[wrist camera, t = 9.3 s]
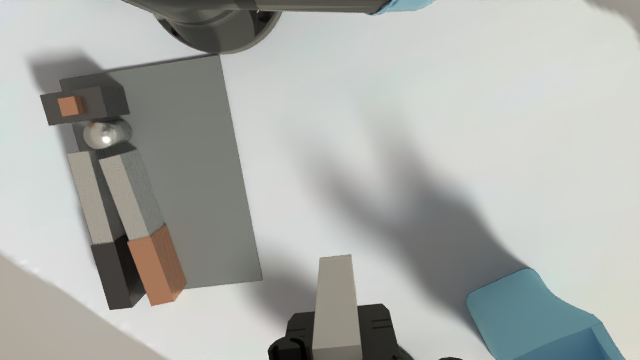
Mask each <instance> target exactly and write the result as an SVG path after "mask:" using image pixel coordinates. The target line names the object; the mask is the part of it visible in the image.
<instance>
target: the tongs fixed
mask: <svg viewBox="0 0 640 360" xmlns="http://www.w3.org/2000/svg"><path fill="white" fill-rule="evenodd" d="M40 97H41V101H42V104H43V107H44V111H45V114H46V117H47V121H48V124H49V126H50V125H58V124H66V123H74V122H81V121H88V120H95V119H101V118H108V117H115V116H122V115H129V114H130V111H129V107H128V103H127V99H126V95H125V91H124V87H122V86H97V87H90V88H84V89H77V90H71V91H64V92H58V93H51V94H45V95H40ZM110 156H112V155H111V152H110V148H109V147H106V148H102V149H94V148H91V149H86V150H82V151H78V152H74V153H69V154H67V157H68V161H69V164H70V168H71V171H72V174H73V178H74V181H75V184H76V188H77V191H78V195H79V198H80V201H81V205H82V208H83V212H84V215H85V218H86V222H87V225H88V229H89V232H90V235H91V239H92V242H93V245H91V249H92V252H93V255H94V259H95V262H96V266H97V269H98V272H99V276H100V279H101V282H102V286H103V289H104V293H105V296H106V299H107V303H108V306H109V309H110V310H114V309H123V308H132V307H133V306H134V305H135V304H136V303H137V302H138V301H139V300H140V299H141V298H142V297H143V296H144V295H145V294H146V290H145V288H144V285H143V283H142V280H141V277H140V275H139V272H138V270H137V267H136V264H135V262H134V259H133V257H132V254H131V251H130V249H129V246H128V244H127V242H128V241H129V239H128V236H127V233H126V231H125V228H124V225H123V223H122V220H121V218H120V215H119V212H118V210H117V207H116V204H115V202H114V199H113V197H112V194H111V191H110V189H109V186H108V183H107V181H106V178H105V176H104V173H103V170H102V168H101V165H100V163H99V160H100V159H104V158H107V157H110Z"/></svg>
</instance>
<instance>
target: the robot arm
mask: <svg viewBox="0 0 640 360" xmlns="http://www.w3.org/2000/svg"><path fill="white" fill-rule="evenodd" d="M122 1H124V2H127V3H129V4H132V5H134V6H136V7H139V8H141V9H144V10H146V11H149V12H151V13H153V14H154V16H155V17H156V19H157V20H158V22H159V23H160V24H161V25H162V26H163V28H164V29H165V30H166V31H167V32H168V33H170V34H171V35H172V36H173V37H174V38H176V39H177V40H179V41H180V42H182V43H183V44H185V45H187V46H189V47H191V48H194V49H197V50H200V51H203V52H207V53H212V54H233V53H238V52H241V51H244V50H246V49H249V48H251V47H253V46H254V45H256V44H257V43H259V42H260V41H261V40H263V39H264V38H265V37H266V36H267V35H268V34H269V33H270V32H271V30H272V29H273V28H274V26H275V25H276V23H277V22H278V20H279V18H280V16H281V14H282V11H295V12H346V13H365V14H368V15H376V14H378V15H380V14H383V13H385V12H400V11H416V10H419V9H421V8H424V7H426V6H428V5H430V4H431V3H433V2H434V1H435V0H122ZM286 331H287V332H286V335H285V337H282V338H280V339H278V340H276V341H275V342H274V343H273V344H272V345H270V347H269V349H268V355H269V360H404V359H403V358H402V357H401V355H400V352H399V348H398V344H397V340H396V336H395V332H394V328H393V324H392V320H391V316H390V312H389V310H388V309H387V308H386V307H385V306H384V305H383V304H372V305H363V306H358V303H357V295H356V288H355V280H354V272H353V264H352V257H351V254H349V255H341V256H332V257H323V258H320V261H319V273H318V285H317V297H316V309H315V311H314V312H305V313H295V314H294V315H293V316H292V317H291V319H290V320H289V321H288V325H287V330H286ZM439 360H462V359H460V358H453V357H447V358H441V359H439Z"/></svg>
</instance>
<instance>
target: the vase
mask: <svg viewBox="0 0 640 360" xmlns="http://www.w3.org/2000/svg"><path fill="white" fill-rule="evenodd" d="M466 305H467V308H468V310H469V312H470V314H471V316H472V318H473V320H474V322H475V324H476V326H477V328H478V330H479V332H480V334H481V336H482V338H483V340H484V341H485V343H486V345H487V347H488V349H489V351H490V353H491V355H492V356H493V357H494V358H495V359H496V360H625V358H624V357H623V356H622V354H621V353H620V351H619V350H618V348H617V347H616V345H615V343H614V342H613V340H612V339H611V337H610V335H609V333H608V332H607V330H606V328H605V327H604V325H603V323H602V322H601V321H600V320H599V319H598V318H597V317H595V316H594V315H593V314H590V313H588V312H586V311H583V310H581V309H579V308H576V307H574V306H572V305H570V304H568V303H566V302H565V301H563V300H561V299H560V298H558V297H557V296H555V295H554V294H553V293H552V292H551V291H550V290H549V289H548V288H547V287H546V285H545V284H544V282H543V281H542V279H541V278H540V276H539V274H538V273H537V272H536V271H534V270H532V269H528V268H526V269H522V270H519V271H517V272H515V273H512V274H510V275H508V276H506V277H504V278H501V279H499V280H497V281H495V282H492V283H490V284H488V285H486V286H484V287H481V288H479V289H477V290H475V291H473V292H471V293H470V294H469V295H468V297H467V300H466Z"/></svg>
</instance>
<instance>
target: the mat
mask: <svg viewBox="0 0 640 360" xmlns="http://www.w3.org/2000/svg"><path fill="white" fill-rule="evenodd" d="M59 81H60V84H61V88H62V91H63V92H64V91H71V90H77V89H84V88H90V87H97V86H122V87H124V91H125V95H126V99H127V103H128V107H129V111H130V114H129V115H122V116H115V117H108V118H101V119H95V120H88V121H81V122H74V123H72V126H73V130H74V133H75V137H76V140H77V144H78V147H79V151H82V150H86V149H91V148H92V147H90V146H89V145H88V144H87V143H86V142H85V140H84V137H83V132H84V129H85V127H86V126H87V125H88V124H91V123H96V122H104V121H111V120H124V121H126V122H127V123H128V124H129V125H130V126H131V128H132V137H131V139H130V140H129V141H128V142H126V143H122V144H118V145H114V146H110V147H109V148H110V152H111V155H112V156H114V155H117V154H121V153H125V152H129V151H133V150H137V149H138V151H139V154H140V157H141V160H142V163H143V165H144V168H145V171H146V174H147V177H148V179H149V182H150V185H151V188H152V191H153V193H154V196H155V199H156V202H157V205H158V207H159V210H160V213H161V216H162V219H163V221H164V224H166V225H167V228H168V231H169V234H170V237H171V239H172V242H173V245H174V248H175V251H176V253H177V256H178V259H179V262H180V265H181V268H182V270H183V273H184V276H185V279H186V282H187V285H186V286H185V288H184V289H190V288H199V287H208V286H217V285H225V284H234V283H243V282H252V281H260V280H262V274H261V269H260V263H259V258H258V253H257V248H256V243H255V237H254V232H253V227H252V222H251V217H250V211H249V206H248V201H247V196H246V191H245V186H244V180H243V175H242V170H241V165H240V160H239V154H238V149H237V144H236V139H235V134H234V128H233V123H232V118H231V113H230V108H229V102H228V97H227V92H226V87H225V82H224V77H223V71H222V66H221V61H220V56H219V55H216V56H209V57H203V58H196V59H190V60H184V61H177V62H171V63H164V64H158V65H152V66H145V67H139V68H132V69H126V70H120V71H113V72H107V73H100V74H94V75H87V76H81V77H75V78H68V79H62V80H59ZM146 294H147V293H146Z"/></svg>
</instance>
